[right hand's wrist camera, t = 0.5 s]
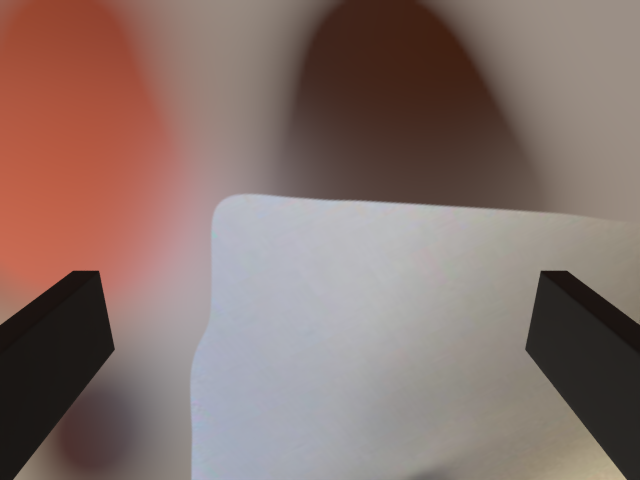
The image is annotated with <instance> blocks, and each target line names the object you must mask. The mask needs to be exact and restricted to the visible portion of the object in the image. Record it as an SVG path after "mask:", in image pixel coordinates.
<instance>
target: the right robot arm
mask: <svg viewBox="0 0 640 480" xmlns="http://www.w3.org/2000/svg"><path fill="white" fill-rule="evenodd" d="M114 350H115V348H114V343H113V338H112V333H111V328H110V323H109V318H108V313H107V308H106V303H105V298H104V293H103V288H102V283H101V278H100V273H99V271H72V272H71V273H70V274H68V275H67V276H66V277H64V278H63V279H62V280H60V281H59V282H57V283H56V284H55V285H53V286H52V287H51V288H49V289H48V290H47V291H45V292H44V293H43V294H41V295H40V296H39V297H37V298H36V299H35V300H33V301H32V302H31V303H29V304H28V305H27V306H25V307H24V308H23V309H21V310H20V311H19V312H17V313H16V314H15V315H13V316H12V317H11V318H9V319H8V320H7V321H5V322H4V323H3V324H1V325H0V480H13V479H14V478H15V477H16V475H17V474H18V473H19V471H20V470H21V469H22V467H23V466H24V465H25V464H26V462H27V461H28V460H29V459H30V457H31V456H32V455H33V454H34V452H35V451H36V450H37V448H38V447H39V446H40V445H41V443H42V442H43V441H44V439H45V438H46V437H47V436H48V434H49V433H50V432H51V430H52V429H53V428H54V427H55V425H56V424H57V423H58V422H59V420H60V419H61V418H62V416H63V415H64V414H65V413H66V411H67V410H68V409H69V407H70V406H71V405H72V404H73V402H74V401H75V400H76V398H77V397H78V396H79V395H80V393H81V392H82V391H83V390H84V388H85V387H86V386H87V384H88V383H89V382H90V381H91V379H92V378H93V377H94V375H95V374H96V373H97V372H98V370H99V369H100V368H101V366H102V365H103V364H104V363H105V361H106V360H107V359H108V358H109V356H110V355H111V354H112V352H113V351H114ZM525 350H526V351H527V352H528V354H529V355H530V356H531V358H532V359H533V360H534V361H535V363H536V364H537V365H538V366H539V368H540V369H541V370H542V372H543V373H544V374H545V375H546V377H547V378H548V379H549V381H550V382H551V383H552V384H553V386H554V387H555V388H556V390H557V391H558V392H559V393H560V395H561V396H562V397H563V398H564V400H565V401H566V402H567V404H568V405H569V406H570V407H571V409H572V410H573V411H574V413H575V414H576V415H577V416H578V418H579V419H580V420H581V422H582V423H583V424H584V425H585V427H586V428H587V429H588V430H589V432H590V433H591V434H592V436H593V437H594V438H595V439H596V441H597V442H598V443H599V445H600V446H601V447H602V448H603V450H604V451H605V452H606V454H607V455H608V456H609V457H610V459H611V460H612V461H613V462H614V464H615V465H616V466H617V468H618V469H619V470H620V471H621V473H622V474H623V475H624V477H625V478H626V479H627V480H640V325H639V324H638V323H636V322H635V321H634V320H632V319H631V318H629V317H628V316H627V315H625V314H624V313H623V312H621V311H620V310H619V309H617V308H616V307H615V306H613V305H612V304H611V303H609V302H608V301H607V300H605V299H604V298H603V297H601V296H600V295H599V294H597V293H596V292H595V291H593V290H592V289H591V288H589V287H588V286H587V285H585V284H584V283H583V282H581V281H580V280H578V279H577V278H576V277H574V276H573V275H572V274H570V273H569V272H568V271H541V273H540V278H539V283H538V288H537V293H536V298H535V303H534V308H533V313H532V318H531V323H530V328H529V333H528V338H527V343H526V348H525Z"/></svg>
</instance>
